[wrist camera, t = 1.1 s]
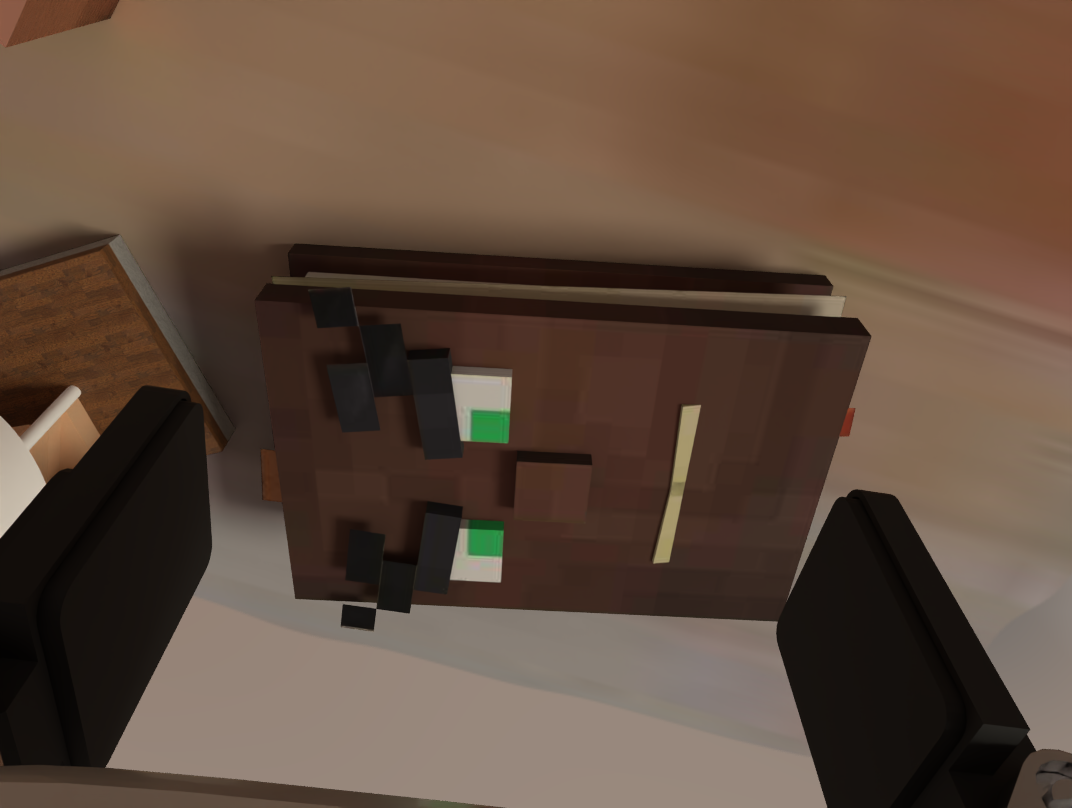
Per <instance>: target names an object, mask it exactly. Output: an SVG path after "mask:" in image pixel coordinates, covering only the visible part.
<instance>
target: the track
mask: <svg viewBox="0 0 1072 808" xmlns="http://www.w3.org/2000/svg"><path fill="white" fill-rule="evenodd" d="M118 2H119V0H0V44H2V45H3V46H4V47H9V46H13V45H16V44H20V43H24V42H27V41H31V40H34V39H38V38H42V37H45V36H49V35H52V34H56V33H60V32H63V31H67V30H70V29H74V28H78V27H81V26H85V25H88V24H92V23H96V22H99V21H103V20H106V19H110V18H111V16H112V14H113V12H114V10H115V8H116V6H117V4H118Z"/></svg>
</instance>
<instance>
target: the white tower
mask: <svg viewBox="0 0 1072 808" xmlns="http://www.w3.org/2000/svg"><path fill="white" fill-rule="evenodd" d="M144 385H150V386H157V387H164V388H171V389H177V390H184V391H187V392H188V393H189V395H190V397H191V402H196V403H200V404H201V405H202V407H203V413H204V428H205V443H206V455H209V454H213V453H217V452H221V451H223V449H224V448H225V446H226V444H227V442H228V441H229V439H230V437H231V435H232V434H233V432H234V430H235V428H234V426H233V425H232V423H231V421H230V420H229V418H228V416H227V415H226V413H225V411H224V410H223V408H222V406H221V404H220V403H219V401H218V399H217V398H216V396H215V394H214V393H213V391H212V389H211V388H210V386H209V384H208V382H207V381H206V379H205V377H204V376H203V374H202V372H201V371H200V369H199V367H198V366H197V364H196V362H195V360H194V359H193V357H192V355H191V354H190V352H189V350H188V349H187V347H186V345H185V344H184V342H183V340H182V339H181V337H180V335H179V333H178V332H177V330H176V328H175V327H174V325H173V323H172V322H171V320H170V318H169V317H168V315H167V313H166V311H165V310H164V308H163V306H162V305H161V303H160V301H159V300H158V298H157V296H156V295H155V293H154V291H153V289H152V288H151V286H150V284H149V283H148V281H147V279H146V278H145V276H144V274H143V273H142V271H141V269H140V268H139V266H138V264H137V262H136V261H135V259H134V257H133V256H132V254H131V252H130V251H129V249H128V247H127V246H126V244H125V242H124V240H123V239H122V237H121V235H117V236H114V237H110V238H107V239H104V240H100V241H97V242H94V243H90V244H87V245H84V246H81V247H77V248H74V249H71V250H67V251H64V252H61V253H57V254H54V255H51V256H47V257H44V258H41V259H37V260H34V261H31V262H28V263H24V264H21V265H18V266H14V267H11V268H8V269H4V270H1V271H0V538H1V537H2V536H3V534H4V533H5V532H6V531H7V530H8V529H9V527H10V526H11V525H12V524H13V523H14V521H15V520H16V519H17V518H18V517H19V516H20V514H21V513H22V512H23V511H24V510H25V509H26V507H27V506H28V505H29V504H30V503H31V501H32V500H33V499H34V498H35V497H36V496H37V494H38V493H39V492H40V491H41V490H42V488H43V487H44V486H45V485H46V484H47V483H48V481H49V480H50V479H51V478H52V477H53V476H54V475H55V474H57V473H58V472H59V471H61V470H63V469H66V468H69V469H73V468H74V467H75V466H76V465H77V463H78V462H79V461H80V460H81V459H82V457H83V456H84V455H85V454H86V453H87V451H88V450H89V449H90V448H91V446H92V445H93V444H94V443H95V442H96V440H97V439H98V438H99V437H100V436H101V434H102V433H103V432H104V431H105V429H106V428H107V427H108V426H109V425H110V423H111V422H112V421H113V420H114V419H115V417H116V416H117V415H118V414H119V413H120V411H121V410H122V409H123V408H124V406H125V405H126V404H127V403H128V402H129V400H130V399H131V398H132V397H133V396H134V394H135V393H136V392H137V391H138V390H139V389H140V388H141V387H142V386H144Z"/></svg>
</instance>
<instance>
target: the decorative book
mask: <svg viewBox="0 0 1072 808" xmlns="http://www.w3.org/2000/svg"><path fill="white" fill-rule="evenodd" d="M288 258H289V268H290V277H282V276H271V277H272V283H273V284H266V285H265V287H264V288H263V289H262V291H261V292H260V294H259V295H258V296H257V298H256V299H255V306H256V313H257V321H258V328H259V335H260V343H261V350H262V357H263V365H264V372H265V379H266V387H267V394H268V402H269V409H270V416H271V424H272V431H273V438H274V446H275V451H274V450H266V449H261V472H262V498H263V500H268V501H276V502H282V504H283V512H284V519H285V526H286V534H287V541H288V548H289V556H290V563H291V570H292V578H293V585H294V592H295V599H309V600H331V601H352V602H373V603H377V608H376V609H381V610H388V611H395V612H403V613H410V608H411V604H416V605H437V606H459V607H480V608H501V609H523V610H544V611H565V612H587V613H608V614H629V615H650V616H672V617H693V618H714V619H736V620H757V621H778V620H779V617H780V615H781V613H782V611H783V608H784V606H785V604H786V601H787V598H788V595H789V592H790V589H791V586H792V582H793V579H794V576H795V573H796V570H797V567H798V564H799V561H800V558H801V554H802V551H803V548H804V545H805V542H806V539H807V536H808V533H809V529H810V526H811V523H812V520H813V517H814V514H815V511H816V508H817V505H818V501H819V498H820V495H821V492H822V489H823V486H824V483H825V480H826V476H827V473H828V470H829V467H830V464H831V461H832V458H833V455H834V451H835V448H836V445H837V442H838V439H839V436H849V435H850V430H851V426H852V421H853V417H854V412H855V408H849V405H850V402H851V398H852V395H853V392H854V389H855V386H856V383H857V380H858V377H859V374H860V370H861V367H862V364H863V361H864V358H865V355H866V352H867V349H868V345H869V342H870V339H871V335H870V334H869V332H868V331H867V330H866V328H865V327H864V326H863V324H862V323H861V322H860V320H859V319H858V318H846V317H841V315H842V311H843V308H844V304H845V300H846V296H831V293H832V290H833V285H832V284H831V282H830V281H829V280H828V279H827V277H826V276H823V275H806V274H790V273H773V272H757V271H740V270H724V269H707V268H691V267H674V266H658V265H641V264H625V263H608V262H592V261H575V260H558V259H542V258H525V257H509V256H492V255H476V254H459V253H443V252H426V251H410V250H393V249H377V248H360V247H343V246H327V245H310V244H294V246H293V247H292V249H291V250H290V252H289V253H288ZM376 609H374V608H367V607H359V606H352V605H345V604H343V608H342V619H341V627H343V628H351V629H358V630H366V631H373V632H374V624H375V616H376Z"/></svg>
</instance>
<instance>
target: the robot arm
mask: <svg viewBox="0 0 1072 808" xmlns="http://www.w3.org/2000/svg"><path fill="white" fill-rule="evenodd" d="M211 550H212V534H211V519H210V504H209V489H208V473H207V458H206V443H205V428H204V413H203V407H202V405H201V404H200V403H196V402H191V397H190V395H189V393H188V392H187V391H184V390H177V389H171V388H164V387H157V386H150V385H144V386H142V387H141V388H140V389H139V390H138V391H137V392H136V393H135V394H134V396H133V397H132V398H131V399H130V400H129V402H128V403H127V404H126V405H125V406H124V408H123V409H122V410H121V411H120V413H119V414H118V415H117V416H116V417H115V419H114V420H113V421H112V422H111V423H110V425H109V426H108V427H107V428H106V429H105V431H104V432H103V433H102V434H101V436H100V437H99V438H98V439H97V440H96V442H95V443H94V444H93V445H92V446H91V448H90V449H89V450H88V451H87V453H86V454H85V455H84V456H83V457H82V459H81V460H80V461H79V462H78V463H77V465H76V466H75V467H74V468H73V469H69V468H66V469H63V470H61V471H59V472H58V473H57V474H55V475H54V476H53V477H52V478H51V479H50V480H49V481H48V483H47V484H46V485H45V486H44V487H43V488H42V490H41V491H40V492H39V493H38V494H37V496H36V497H35V498H34V499H33V500H32V501H31V503H30V504H29V505H28V506H27V507H26V509H25V510H24V511H23V512H22V513H21V514H20V516H19V517H18V518H17V519H16V520H15V521H14V523H13V524H12V525H11V526H10V527H9V529H8V530H7V531H6V532H5V533H4V534H3V536H2V537H1V538H0V808H503V807H493V806H484V805H474V804H466V803H457V802H448V801H439V800H429V799H419V798H410V797H401V796H391V795H382V794H372V793H362V792H353V791H343V790H334V789H323V788H315V787H305V786H296V785H286V784H276V783H267V782H258V781H247V780H238V779H227V778H215V777H204V776H194V775H182V774H171V773H160V772H148V771H137V770H126V769H114V768H105V767H106V765H107V764H108V762H109V760H110V758H111V756H112V754H113V752H114V750H115V748H116V746H117V744H118V742H119V740H120V738H121V736H122V734H123V732H124V730H125V728H126V726H127V724H128V722H129V720H130V718H131V716H132V714H133V713H134V711H135V709H136V707H137V705H138V703H139V701H140V699H141V697H142V695H143V693H144V691H145V689H146V687H147V685H148V683H149V681H150V679H151V677H152V675H153V673H154V671H155V669H156V667H157V665H158V663H159V661H160V659H161V657H162V655H163V653H164V651H165V649H166V647H167V645H168V644H169V642H170V639H171V638H172V636H173V633H174V632H175V630H176V628H177V626H178V624H179V622H180V620H181V618H182V615H183V614H184V612H185V610H186V608H187V606H188V604H189V602H190V600H191V598H192V596H193V594H194V592H195V590H196V588H197V586H198V584H199V582H200V580H201V578H202V576H203V574H204V572H205V570H206V568H207V566H208V563H209V560H210V556H211ZM776 635H777V642H778V646H779V650H780V653H781V656H782V659H783V663H784V666H785V669H786V673H787V676H788V679H789V682H790V686H791V689H792V692H793V696H794V699H795V702H796V705H797V709H798V712H799V715H800V719H801V722H802V725H803V729H804V732H805V735H806V738H807V742H808V745H809V748H810V752H811V755H812V758H813V761H814V765H815V768H816V771H817V774H818V778H819V781H820V784H821V788H822V791H823V794H824V798H825V801H826V804H827V808H1072V754H1071V753H1068V752H1064V751H1061V750H1053V749H1052V750H1051V749H1042V750H1039V751H1036V750H1035V748H1034V746H1033V745H1032V743H1031V741H1030V739H1029V738H1028V736H1027V733H1028V732H1029V730H1030V728H1029V727H1028V725H1027V723H1026V721H1025V720H1024V718H1023V716H1022V714H1021V713H1020V711H1019V709H1018V707H1017V706H1016V704H1015V702H1014V701H1013V699H1012V697H1011V695H1010V694H1009V692H1008V690H1007V688H1006V687H1005V685H1004V683H1003V681H1002V680H1001V678H1000V676H999V674H998V673H997V671H996V669H995V667H994V666H993V664H992V662H991V661H990V659H989V657H988V655H987V653H986V652H985V650H984V648H983V646H982V645H981V643H980V641H979V639H978V638H977V636H976V634H975V633H974V631H973V629H972V627H971V626H970V624H969V622H968V620H967V619H966V617H965V615H964V613H963V612H962V610H961V608H960V606H959V605H958V603H957V601H956V599H955V598H954V596H953V594H952V592H951V591H950V589H949V587H948V585H947V584H946V582H945V580H944V579H943V577H942V575H941V573H940V572H939V570H938V568H937V566H936V565H935V563H934V561H933V559H932V558H931V556H930V554H929V552H928V551H927V549H926V547H925V545H924V544H923V542H922V540H921V538H920V537H919V535H918V533H917V532H916V530H915V528H914V526H913V525H912V523H911V521H910V519H909V518H908V516H907V514H906V512H905V511H904V509H903V507H902V505H901V504H900V502H899V500H898V499H897V498H896V497H895V496H893V495H891V494H885V493H878V492H871V491H865V490H858V489H856V490H852V491H851V492H850V493H849V494H848V495H847V497H839V498H838V499H837V500H836V501H835V503H834V504H833V506H832V509H831V511H830V513H829V515H828V517H827V519H826V521H825V523H824V525H823V527H822V529H821V531H820V534H819V536H818V538H817V540H816V542H815V544H814V546H813V548H812V550H811V552H810V554H809V556H808V559H807V561H806V563H805V565H804V567H803V569H802V571H801V573H800V575H799V577H798V579H797V581H796V584H795V586H794V588H793V590H792V592H791V594H790V596H789V598H788V600H787V602H786V604H785V606H784V608H783V611H782V613H781V615H780V617H779V620H778V623H777V632H776Z"/></svg>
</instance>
